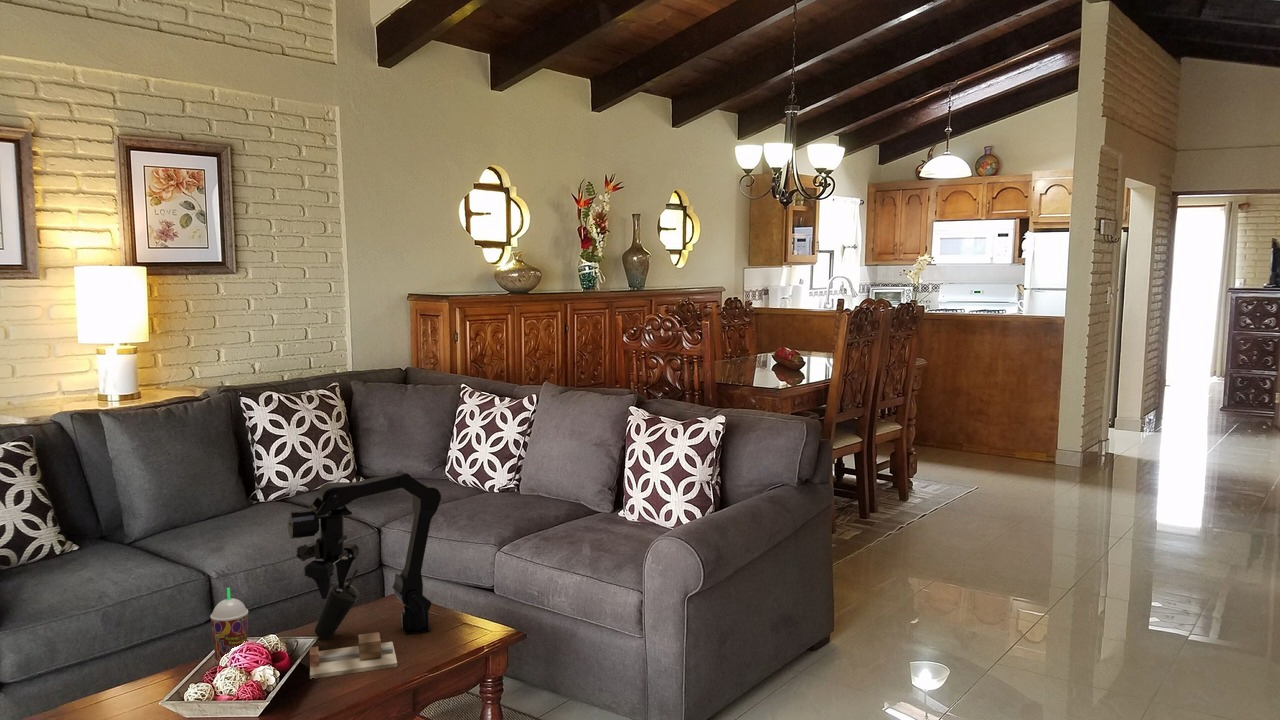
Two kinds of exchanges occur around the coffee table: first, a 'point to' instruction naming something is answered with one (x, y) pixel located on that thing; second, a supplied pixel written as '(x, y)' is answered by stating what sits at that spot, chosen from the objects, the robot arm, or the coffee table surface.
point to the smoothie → (228, 625)
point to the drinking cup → (336, 608)
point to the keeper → (369, 646)
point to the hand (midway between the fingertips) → (332, 592)
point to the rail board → (348, 661)
